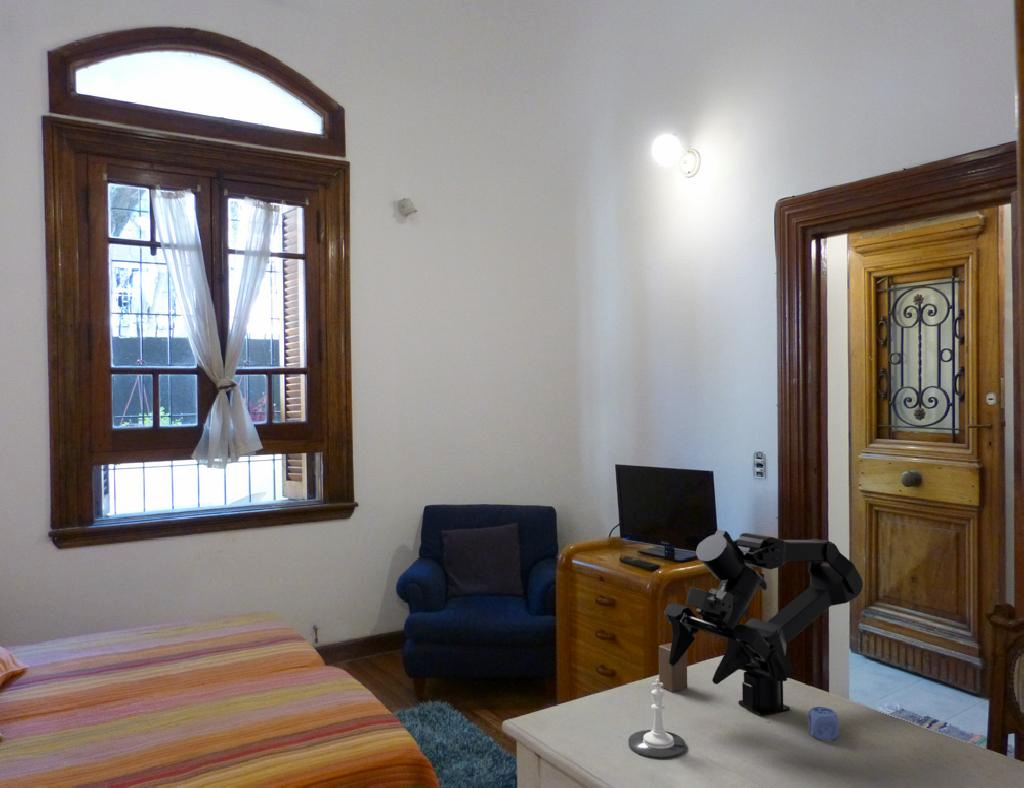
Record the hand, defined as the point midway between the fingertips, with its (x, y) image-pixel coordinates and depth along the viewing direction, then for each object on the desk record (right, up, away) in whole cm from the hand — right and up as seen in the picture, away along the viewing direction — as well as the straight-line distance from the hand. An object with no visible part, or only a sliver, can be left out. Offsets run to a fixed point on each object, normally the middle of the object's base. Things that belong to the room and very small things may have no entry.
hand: (691, 673), depth 127 cm
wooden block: (+1, -10, +20) cm, 23 cm away
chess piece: (-6, -9, -5) cm, 13 cm away
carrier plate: (-7, -10, -5) cm, 13 cm away
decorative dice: (+21, -10, -2) cm, 23 cm away
